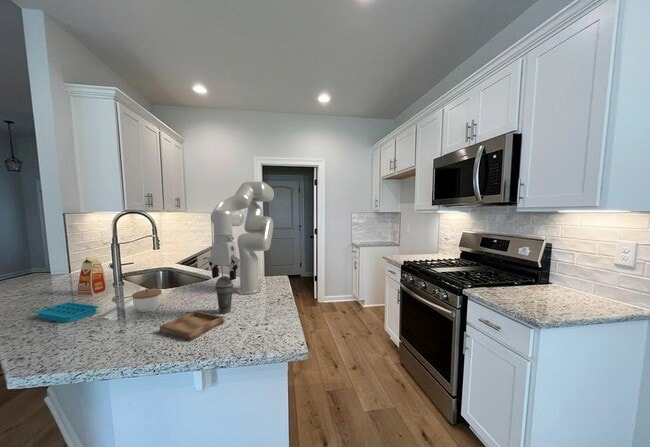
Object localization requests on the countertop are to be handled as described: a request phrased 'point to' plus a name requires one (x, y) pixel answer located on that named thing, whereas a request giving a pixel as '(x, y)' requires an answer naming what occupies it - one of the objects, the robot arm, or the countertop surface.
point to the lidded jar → (147, 299)
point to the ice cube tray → (67, 312)
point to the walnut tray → (191, 325)
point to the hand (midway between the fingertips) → (224, 278)
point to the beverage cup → (224, 293)
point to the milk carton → (91, 278)
